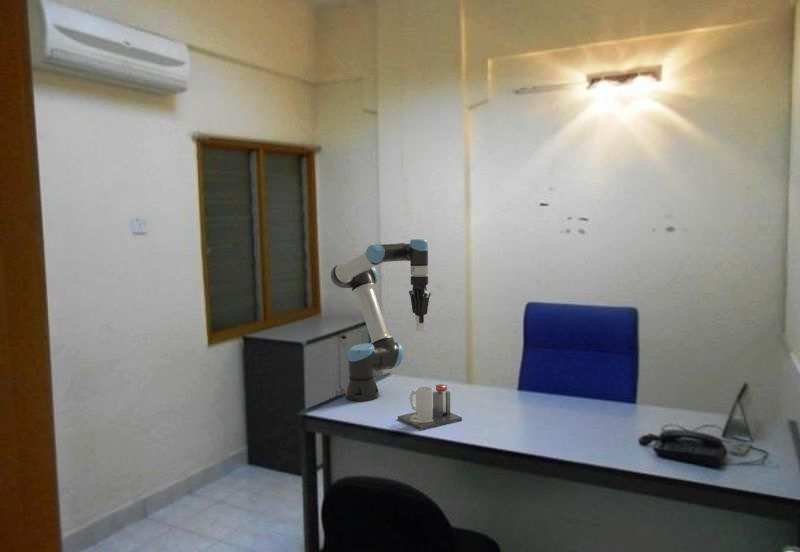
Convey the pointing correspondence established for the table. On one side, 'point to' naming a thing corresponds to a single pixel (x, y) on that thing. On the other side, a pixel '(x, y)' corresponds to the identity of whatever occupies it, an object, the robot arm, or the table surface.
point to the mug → (423, 403)
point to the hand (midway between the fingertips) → (419, 330)
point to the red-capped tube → (442, 390)
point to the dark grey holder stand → (437, 417)
